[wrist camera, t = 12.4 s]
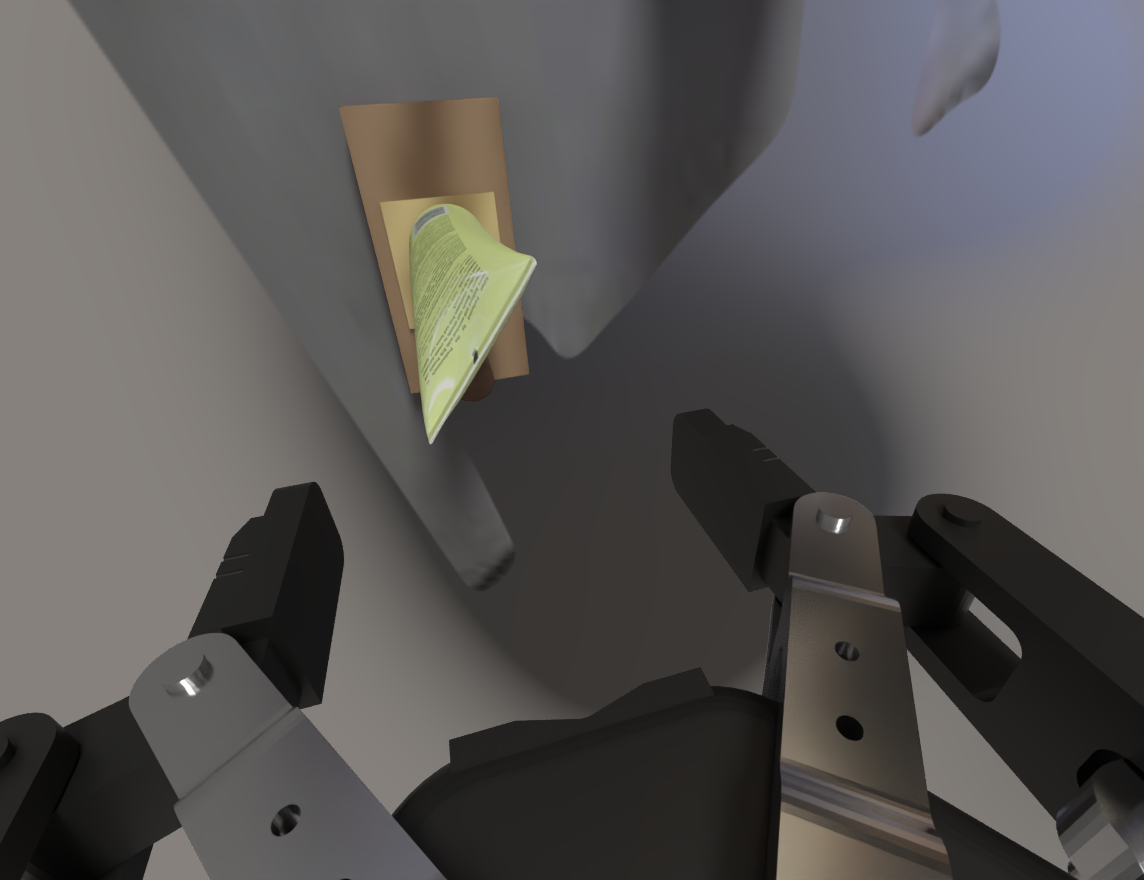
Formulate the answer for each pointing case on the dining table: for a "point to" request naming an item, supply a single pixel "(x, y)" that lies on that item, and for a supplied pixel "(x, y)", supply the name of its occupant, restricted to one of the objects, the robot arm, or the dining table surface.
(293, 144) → the dining table surface
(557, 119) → the dining table surface
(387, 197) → the brown flat panelled slab
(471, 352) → the tube
